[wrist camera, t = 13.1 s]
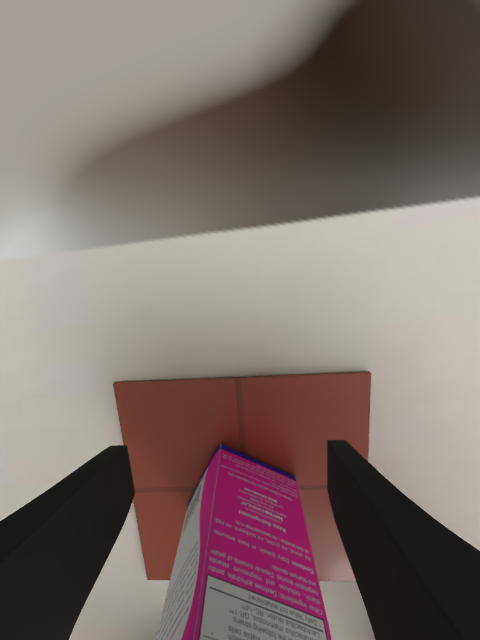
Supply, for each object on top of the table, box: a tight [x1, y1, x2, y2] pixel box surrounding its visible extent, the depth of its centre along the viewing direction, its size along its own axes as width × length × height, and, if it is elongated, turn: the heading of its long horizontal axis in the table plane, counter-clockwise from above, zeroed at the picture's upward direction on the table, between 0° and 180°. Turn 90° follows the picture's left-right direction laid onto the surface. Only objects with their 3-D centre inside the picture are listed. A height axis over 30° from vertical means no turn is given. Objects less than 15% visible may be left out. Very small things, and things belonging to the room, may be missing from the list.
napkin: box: [113, 372, 371, 581], centre depth 19 cm, size 16×16×1 cm
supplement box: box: [155, 444, 331, 640], centre depth 13 cm, size 6×6×12 cm
